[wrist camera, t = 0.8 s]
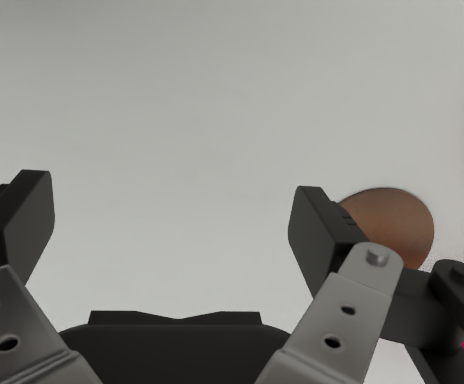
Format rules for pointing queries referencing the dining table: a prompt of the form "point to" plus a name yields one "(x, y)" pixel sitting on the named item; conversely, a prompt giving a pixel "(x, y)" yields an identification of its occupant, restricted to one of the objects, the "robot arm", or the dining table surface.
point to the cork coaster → (394, 222)
